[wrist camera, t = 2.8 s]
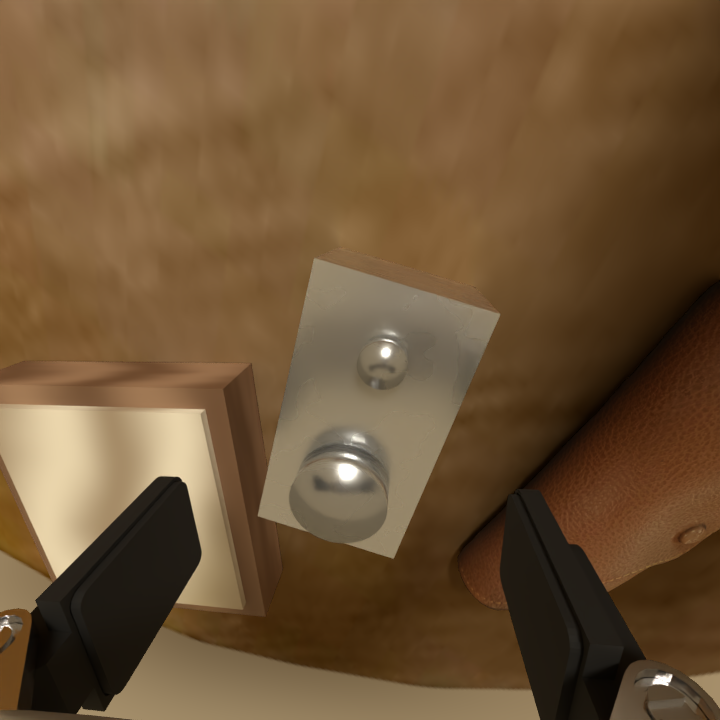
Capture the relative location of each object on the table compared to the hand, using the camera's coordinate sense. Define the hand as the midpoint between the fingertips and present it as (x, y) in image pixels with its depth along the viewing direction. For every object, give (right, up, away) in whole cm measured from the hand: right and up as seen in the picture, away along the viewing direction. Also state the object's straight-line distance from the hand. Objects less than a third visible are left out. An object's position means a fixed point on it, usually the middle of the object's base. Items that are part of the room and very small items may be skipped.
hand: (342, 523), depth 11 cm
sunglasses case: (+14, -1, +8) cm, 16 cm away
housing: (+1, +4, +8) cm, 8 cm away
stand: (-11, -2, +11) cm, 16 cm away
